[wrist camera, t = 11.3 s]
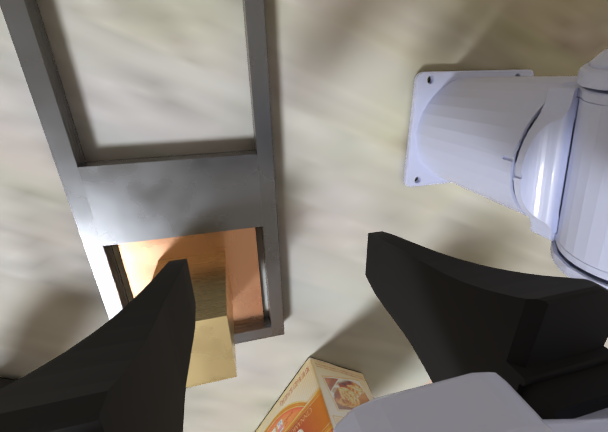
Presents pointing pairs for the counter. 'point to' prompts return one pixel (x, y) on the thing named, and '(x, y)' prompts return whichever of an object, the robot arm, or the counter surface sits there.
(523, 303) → the robot arm
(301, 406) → the coffeecake box
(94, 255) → the gray rectangular frame
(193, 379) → the brass block
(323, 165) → the counter surface
